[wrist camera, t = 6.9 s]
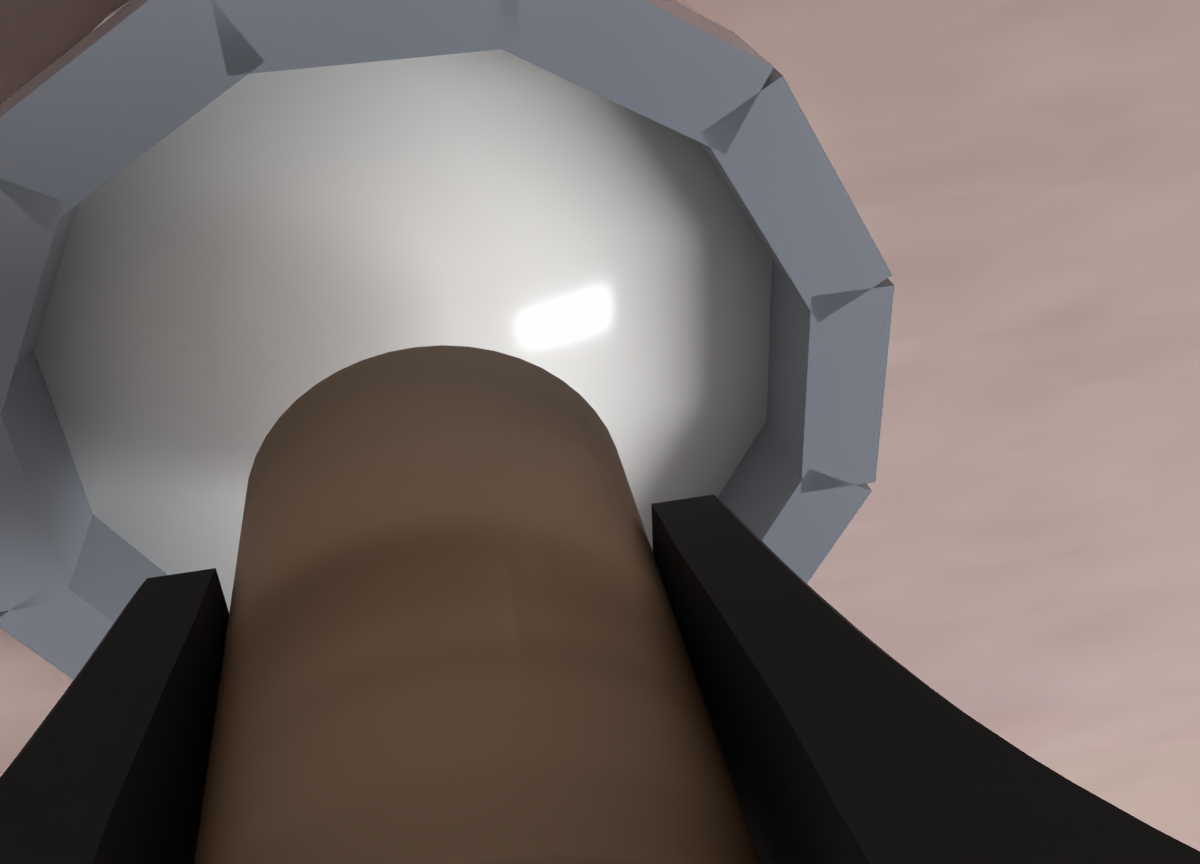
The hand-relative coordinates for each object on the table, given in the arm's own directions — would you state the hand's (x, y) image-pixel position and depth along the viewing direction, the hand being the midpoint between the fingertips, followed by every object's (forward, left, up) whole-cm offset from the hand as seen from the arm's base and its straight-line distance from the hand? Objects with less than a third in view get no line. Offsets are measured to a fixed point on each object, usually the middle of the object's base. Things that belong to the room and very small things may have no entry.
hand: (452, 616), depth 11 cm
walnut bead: (0, 0, -2) cm, 2 cm away
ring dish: (0, 0, -5) cm, 5 cm away
